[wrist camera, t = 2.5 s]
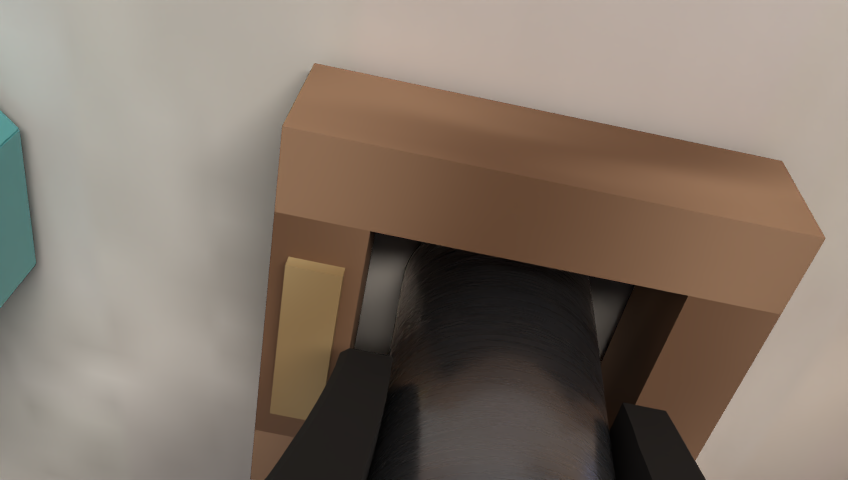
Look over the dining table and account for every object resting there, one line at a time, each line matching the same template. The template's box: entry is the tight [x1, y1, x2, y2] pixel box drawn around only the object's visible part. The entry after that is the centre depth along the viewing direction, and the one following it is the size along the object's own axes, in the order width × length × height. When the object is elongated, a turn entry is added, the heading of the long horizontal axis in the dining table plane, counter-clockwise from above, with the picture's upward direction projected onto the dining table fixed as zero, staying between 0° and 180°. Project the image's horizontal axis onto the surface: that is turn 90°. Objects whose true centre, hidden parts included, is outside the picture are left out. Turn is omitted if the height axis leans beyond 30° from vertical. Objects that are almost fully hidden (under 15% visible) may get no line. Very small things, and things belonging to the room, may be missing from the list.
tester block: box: [250, 63, 825, 480], centre depth 13 cm, size 7×7×2 cm
